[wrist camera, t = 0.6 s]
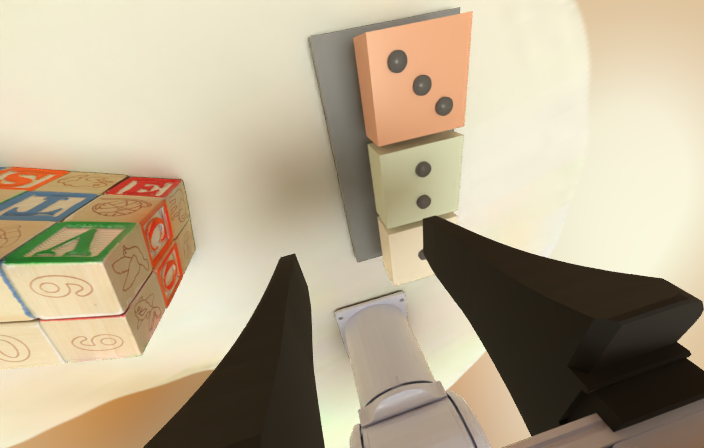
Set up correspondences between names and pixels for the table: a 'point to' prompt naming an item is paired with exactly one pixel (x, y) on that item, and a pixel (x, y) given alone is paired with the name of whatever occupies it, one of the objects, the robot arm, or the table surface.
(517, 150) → the table surface
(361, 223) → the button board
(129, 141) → the table surface
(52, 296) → the stack of blocks
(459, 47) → the tile three
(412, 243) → the tile one
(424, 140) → the tile two
